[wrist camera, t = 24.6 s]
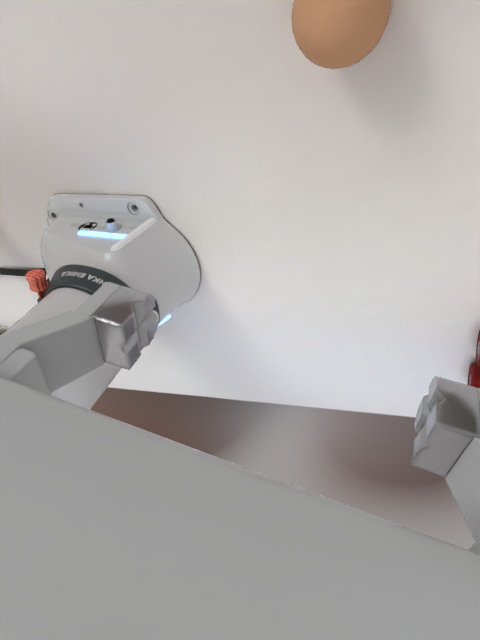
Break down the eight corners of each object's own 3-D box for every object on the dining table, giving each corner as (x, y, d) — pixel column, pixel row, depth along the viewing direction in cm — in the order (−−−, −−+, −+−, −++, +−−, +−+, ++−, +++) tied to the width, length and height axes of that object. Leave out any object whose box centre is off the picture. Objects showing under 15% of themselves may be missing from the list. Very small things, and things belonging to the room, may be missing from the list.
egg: (303, -35, 33) (266, -28, 27) (395, -62, 31) (378, -62, 24) (314, 63, 37) (284, 89, 31) (396, 47, 35) (382, 72, 28)
